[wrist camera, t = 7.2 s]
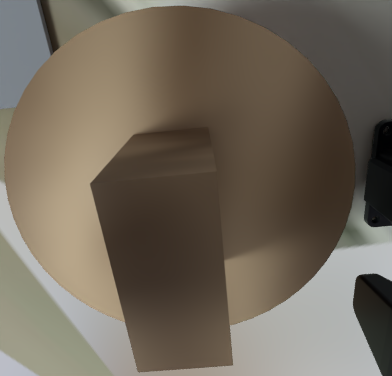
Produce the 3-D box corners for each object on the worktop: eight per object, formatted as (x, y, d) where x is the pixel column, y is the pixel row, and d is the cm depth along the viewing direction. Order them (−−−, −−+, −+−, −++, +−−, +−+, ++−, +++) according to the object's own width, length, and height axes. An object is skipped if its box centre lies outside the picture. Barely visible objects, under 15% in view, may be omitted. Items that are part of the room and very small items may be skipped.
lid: (362, -14, 10) (548, -100, 5) (334, 307, 15) (407, 436, 10) (-39, 34, 11) (-273, 6, 5) (66, 328, 16) (0, 462, 11)
